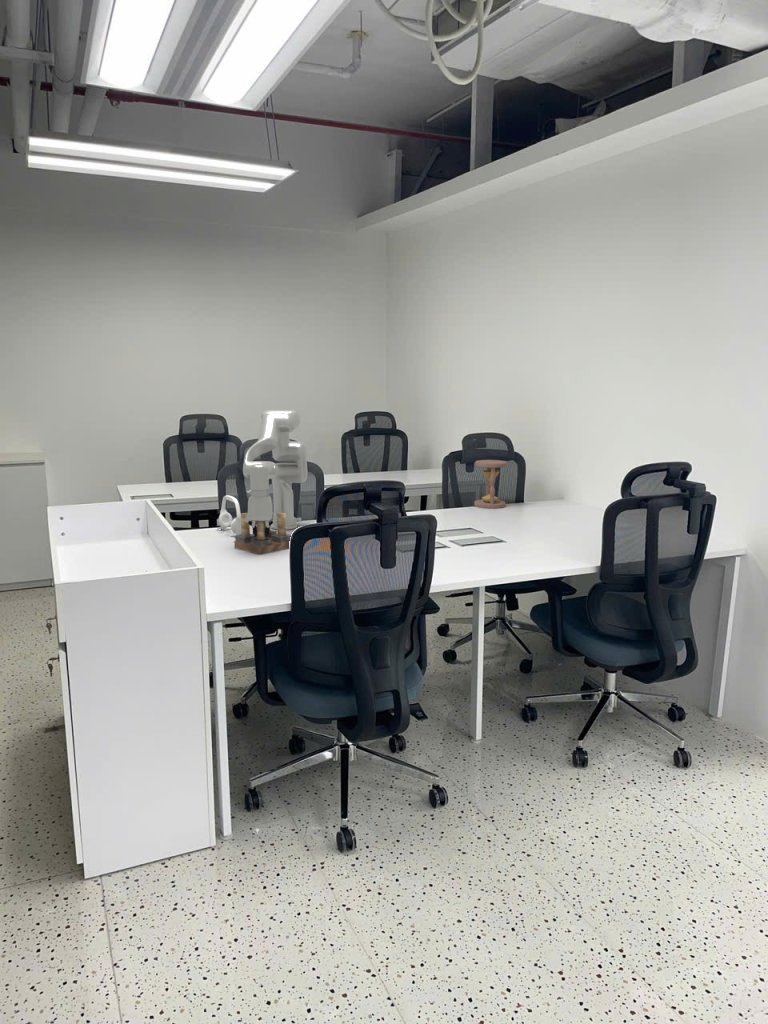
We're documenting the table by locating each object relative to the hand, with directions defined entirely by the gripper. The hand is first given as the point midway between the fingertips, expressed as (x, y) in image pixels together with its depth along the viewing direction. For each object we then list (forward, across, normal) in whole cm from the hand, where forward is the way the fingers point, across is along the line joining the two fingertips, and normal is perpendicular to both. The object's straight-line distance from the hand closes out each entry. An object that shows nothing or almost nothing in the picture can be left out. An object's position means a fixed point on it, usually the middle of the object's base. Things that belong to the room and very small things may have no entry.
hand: (261, 535), depth 317 cm
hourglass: (+7, +114, +105) cm, 155 cm away
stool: (+7, 0, +8) cm, 10 cm away
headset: (+7, -19, +37) cm, 42 cm away
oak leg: (+4, 0, 0) cm, 4 cm away
